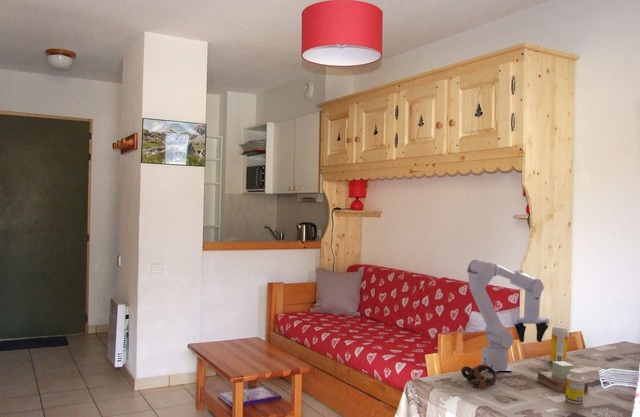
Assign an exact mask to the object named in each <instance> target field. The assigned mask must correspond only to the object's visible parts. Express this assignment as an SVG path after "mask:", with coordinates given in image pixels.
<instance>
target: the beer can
mask: <svg viewBox="0 0 640 417" xmlns="http://www.w3.org/2000/svg"><path fill="white" fill-rule="evenodd" d="M568 337H569V329H568V327H566V326H563V325H553V327H552V329H551V340H550V341H551V342H550V354H549V355H550V357H549V360H550V361H551V363H552V364H553V361H565V362H567V351H568Z"/></svg>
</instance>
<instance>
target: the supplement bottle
mask: <svg viewBox="0 0 640 417" xmlns="http://www.w3.org/2000/svg"><path fill="white" fill-rule="evenodd" d="M585 381H586V379H585V377H583V371H582V370H579V369H576V368H574V369H570V372H569V375H567V378H566V391H565V396H564V398H565V400H566V401H567V402H569V403H572V404H578V405H579V404H582V403H584V401H585V400H584V399H585V398H584V396H585V391H584V384H585Z"/></svg>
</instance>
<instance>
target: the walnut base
mask: <svg viewBox="0 0 640 417" xmlns="http://www.w3.org/2000/svg"><path fill="white" fill-rule="evenodd" d="M537 381H538V382H540V383H542V384H544V385H545V386H547V387H549V388H551V389H552V390H554V391H556V392H566V379H565V380H560V379H559V378H557V377H555V376H553V375H552V371H538V372H537ZM588 391H589V382H587V381H586V380H585V384H584V392H588Z"/></svg>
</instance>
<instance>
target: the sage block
mask: <svg viewBox="0 0 640 417" xmlns="http://www.w3.org/2000/svg"><path fill="white" fill-rule="evenodd" d="M574 367H575V366H574V364H572V363H569V362H567V361H566V362H565V361H553V363H552V370H551V372H552V375H553V376H555V377H557V378H559V379H560V380H565V379H566V378H567V375H569V372H570V369H575V368H574Z"/></svg>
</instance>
